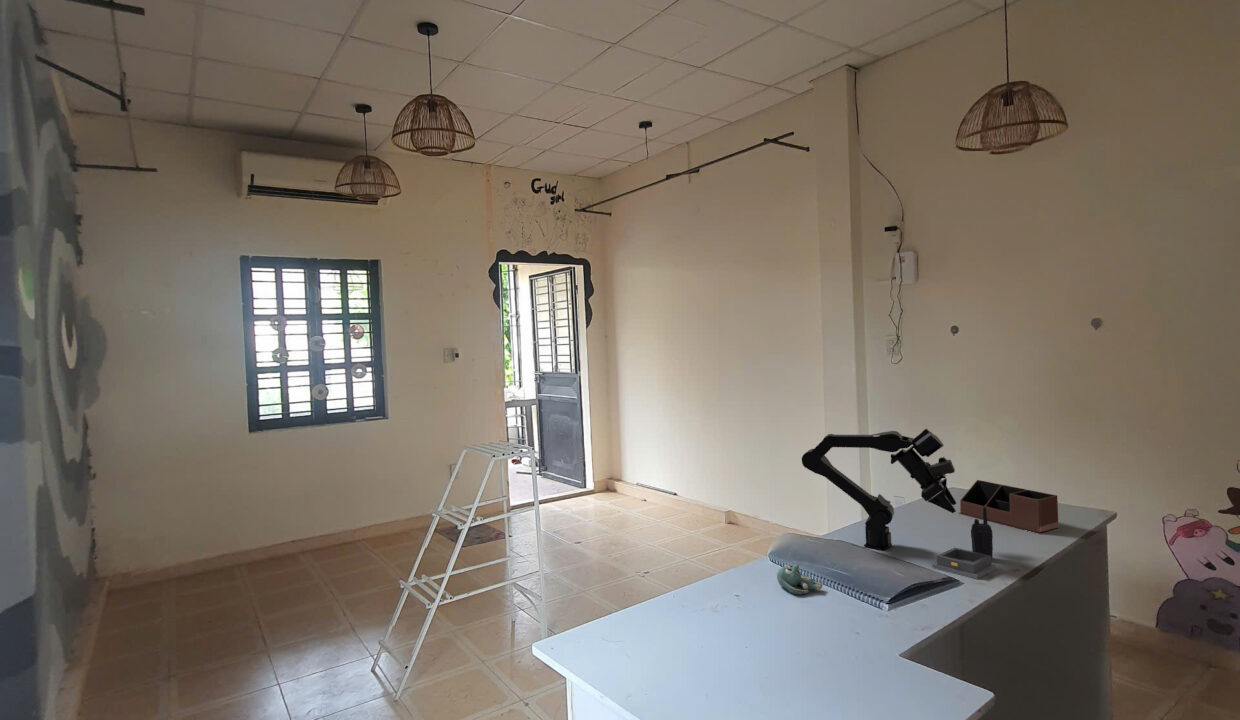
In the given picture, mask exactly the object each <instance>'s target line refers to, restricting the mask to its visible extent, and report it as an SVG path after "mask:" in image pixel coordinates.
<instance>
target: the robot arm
mask: <svg viewBox="0 0 1240 720" xmlns="http://www.w3.org/2000/svg"><path fill="white" fill-rule="evenodd" d="M944 445H945V444H944V443H943V442H942V441H941V439H940V438H939V437H938V436H937V435H936V434H934V433H933V432H932V431H930V430H929V429H928V428H925V429H923V430H922V431H921V432H920V433H919V434H918V435H916V436H915V437H914V438H913V437H910V436H906V435H902V434H901V433H900V432H898V431H897V430H889V431H883V432H878V433H874V434H873V433H872V434H834V433H828V434H827V435H825V436H824V437H823V439H822V440H821V441H820V442H819V443H818V444H817V445H816V446H815V447H814V448H811V449H808V451H806V452H805V453H804V454H803V455H802V456H801V463H802V466H803V467H804V468H805V469H806V470H809V471H811V472H813V473H814V474H817V475H819V476H823V477H824V478H825V479H826V480H828V481H829V482H831V483H832V484H833V485H835V486H836V487H837V488H838V489H840V490H841V491H842V492H844V493H845V494H846V495H848V496H849V497H850V498H851V499H853V500H854V501H856V502H857V504H859V505H861V507H862V508H863V509H864V511H865V512H866V514H867V515H868V517H867V519H866V521H865V526H864V527H865V529H864V530H865V544H863V547H864V546H865V548H870V549H876V550H880V551H885V550H887V549H889V548H890V547H892V546H893V543H892V532H891V531H890V526H887V525H889V524H891V522H892V520H893V518H894V515H895V508H894V506H893V505H892V504H891V501H890V500H888V499H886V498H885V497H884V496H883V495H882V494H881V493H879V494H878V495H877V496H874V495H872V494H870V493H868V492H867V491H866V490H865V489H863V488H862V487H861V486H859V485H858V484H857V483H856V482H855V481H853V480H852V479H850V478H849V477H848V476H846V475H845V474H844V473H843V472H841V471H840V470H838V469H837V468H836V467H834V465H833V464H832V463H831V461H830V460H829V459H828V457H827V456H826V454H827V453H828V452H829V451H831V449H832V448H859V449H860V448H861V449H862V448H865V449H866V448H868V449H869V448H871V449H874V450H878V451H883V452H886V453H887V452H888V453H891V454H890V464H891V465H894V464H895V463H896V462H898V463H899V464H900V465H901V466H902V467H903V468H904V470H906V472H907V473H908V474H909V477H910V478H911V479H912V480H913V479H914V480H915V481H916V483H918V485H920V486H919V488H921V491H920V492H921V493H920V494H921V498H922V499H923V500H924V501H925V502H927V503H931V504H933V505H936V506H937V507H940V508H942V509H944V510H946V511H948V512H949V513H951V514H954V513H955V512H956V511H957V510H956V509H955V507H954V506H955V505H956V504H957V501H956V499H955V497H954V496H953V494H952V493H951V492H950V490H949V488H948V486H947V482H948V481H947V480H948V479H947V478H946V477H947V474H949V475H951V474H954V473H955V472H956V469H955V466H954V465H953V462H952V460H951V459H947V458H946V457H945V456H942V457H939V458H938V462H935V463H934V464H931V463H930V462H927V461H925V460H924V459H923V458H922V457H927V458H929V457H930V456H932V455H934V453H936V452H937V451H938V450H940V449H942V448H943V447H944ZM896 452H897V453H896Z"/></svg>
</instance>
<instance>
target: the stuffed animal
mask: <svg viewBox="0 0 1240 720" xmlns="http://www.w3.org/2000/svg"><path fill="white" fill-rule="evenodd" d="M799 567H800V565H799V564H798V563H796V564H795V563H794V564H793V565H788V564H784V566H782V567H780V568H779V569H778V570H777V572H776V579H777V582H778V584H779V585H780V586H781V587H783V588H784V589H786V590H787V591H788V592H789V593H790V594H794V595H805V594H806V595H807V594H809V589H813V590H815V591H819V592H820V591H821V589H823V583H822V582H819V581H815V580H814V579H813V577H810V576H807V575H804V574H801V572H800V571H801V569H800V568H799ZM797 586H799V587H802V588H803V589H801V588H798V587H797Z"/></svg>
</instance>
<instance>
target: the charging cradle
mask: <svg viewBox="0 0 1240 720" xmlns="http://www.w3.org/2000/svg"><path fill="white" fill-rule="evenodd" d="M933 567H934V569H936V568H937V570H941V571H945V572H949V573H952V574H956V575H959V576H963V577H966V578H970V579H975V580H979V579H981V578H982V577H984V576H986V575H988V574H989V573H992V572H993V571H995V570H997V564H993V563H992V559H991V556H990V555H985V554H981V553H977V552H972V551H971V550H968V549H962V548H959V547H953V548H951V549H948V550H946V551H944V552H942V553H940V554H937V555H936V562H934V563H932V568H933Z"/></svg>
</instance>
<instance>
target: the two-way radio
mask: <svg viewBox="0 0 1240 720" xmlns="http://www.w3.org/2000/svg"><path fill="white" fill-rule="evenodd" d="M979 520H980V519H978V518H975V519H974V522H973V523H972V525H971V529H970V537H971V550H972V552H977V553H981V554H985V555H990V556H991V560H992V559H993V550H994V546H993V543H994V542H993V538H994V537H993V529H992V527H991V524H989V523H988V521H987V511H986V507H983V520H982V522H981V523H980V521H979Z"/></svg>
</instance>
